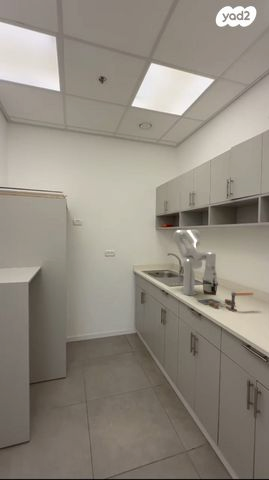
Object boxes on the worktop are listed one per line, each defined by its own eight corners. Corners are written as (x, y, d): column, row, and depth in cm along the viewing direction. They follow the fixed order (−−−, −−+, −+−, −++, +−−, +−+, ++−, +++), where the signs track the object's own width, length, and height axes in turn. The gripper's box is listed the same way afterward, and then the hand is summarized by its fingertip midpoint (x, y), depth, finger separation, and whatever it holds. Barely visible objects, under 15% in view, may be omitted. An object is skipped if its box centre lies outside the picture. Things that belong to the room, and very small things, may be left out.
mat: (196, 300, 183) (196, 300, 183) (211, 299, 188) (211, 298, 188) (205, 305, 173) (205, 304, 173) (220, 303, 179) (220, 302, 179)
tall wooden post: (250, 294, 167) (250, 291, 167) (253, 295, 164) (253, 292, 164) (230, 295, 164) (230, 291, 164) (232, 296, 162) (232, 292, 161)
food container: (216, 293, 183) (216, 281, 183) (217, 295, 177) (218, 283, 177) (200, 292, 185) (201, 280, 184) (201, 294, 179) (202, 281, 178)
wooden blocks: (208, 305, 173) (208, 291, 173) (227, 302, 181) (227, 289, 180) (224, 312, 158) (225, 298, 158) (244, 309, 166) (245, 295, 165)
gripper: (222, 269, 173) (221, 292, 174) (206, 266, 189) (205, 287, 190) (214, 270, 170) (213, 293, 171) (199, 266, 186) (198, 287, 187)
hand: (209, 289), depth 180 cm, fingers closed on food container, 7 cm apart
